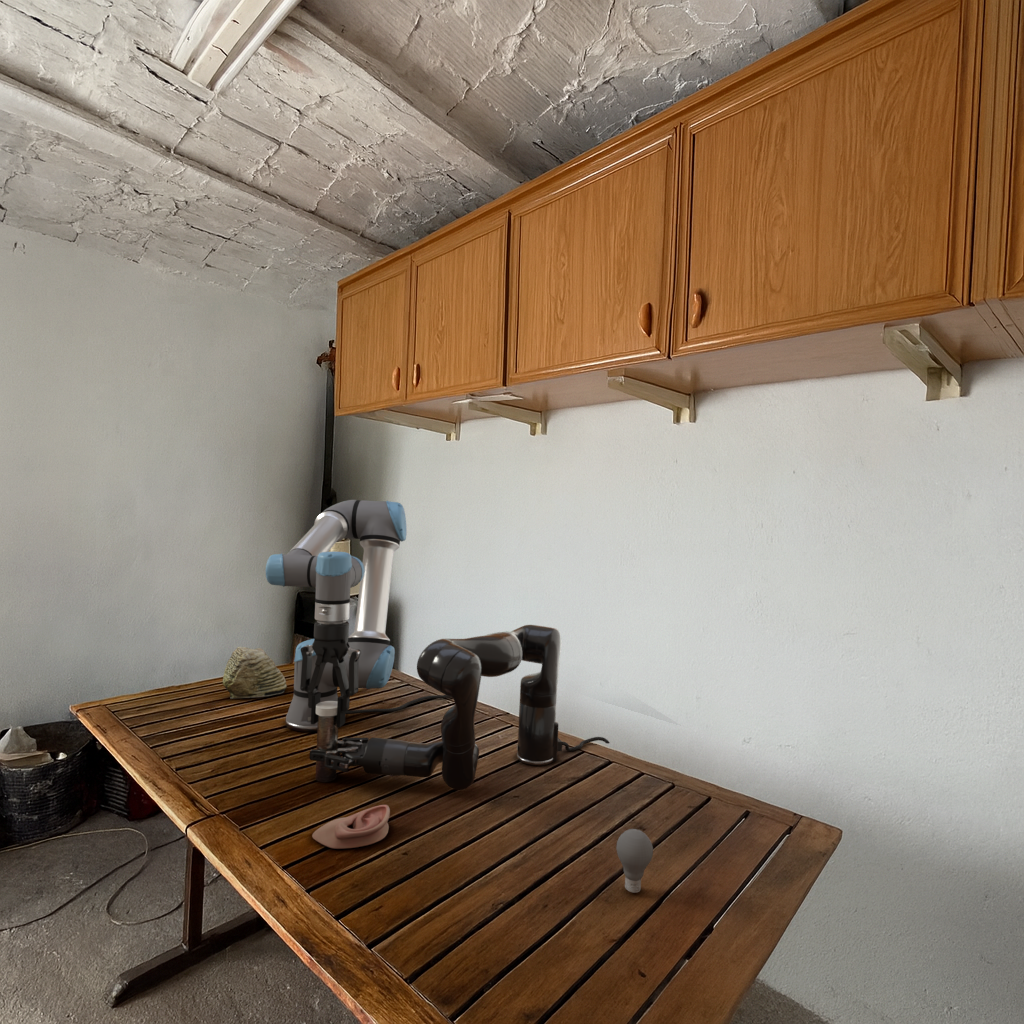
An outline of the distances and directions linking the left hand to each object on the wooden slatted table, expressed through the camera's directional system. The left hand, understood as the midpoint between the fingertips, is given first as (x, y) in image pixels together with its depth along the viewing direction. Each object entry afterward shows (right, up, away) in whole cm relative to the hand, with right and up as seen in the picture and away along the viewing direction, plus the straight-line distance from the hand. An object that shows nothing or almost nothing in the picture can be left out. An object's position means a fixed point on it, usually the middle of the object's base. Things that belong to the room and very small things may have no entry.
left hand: (327, 723), depth 142 cm
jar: (-1, -12, 0) cm, 12 cm away
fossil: (-39, -10, +56) cm, 69 cm away
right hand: (-3, -6, 0) cm, 7 cm away
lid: (0, +4, 0) cm, 4 cm away
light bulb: (+62, -16, -37) cm, 73 cm away
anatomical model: (+11, -13, -23) cm, 29 cm away
